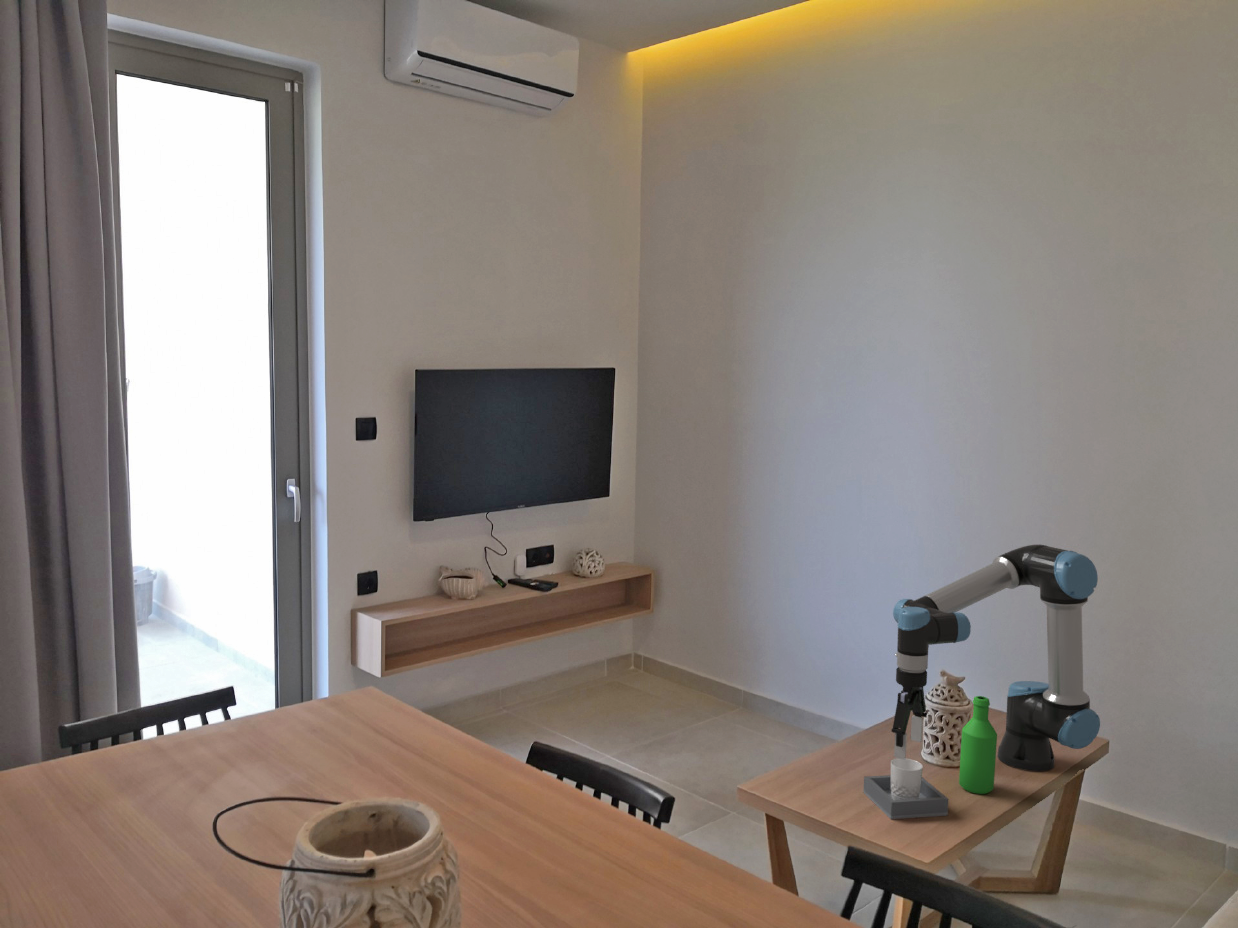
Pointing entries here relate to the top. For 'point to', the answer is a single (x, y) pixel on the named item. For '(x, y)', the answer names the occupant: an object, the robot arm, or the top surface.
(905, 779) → the white cup
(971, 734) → the bottle
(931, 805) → the gray tray
